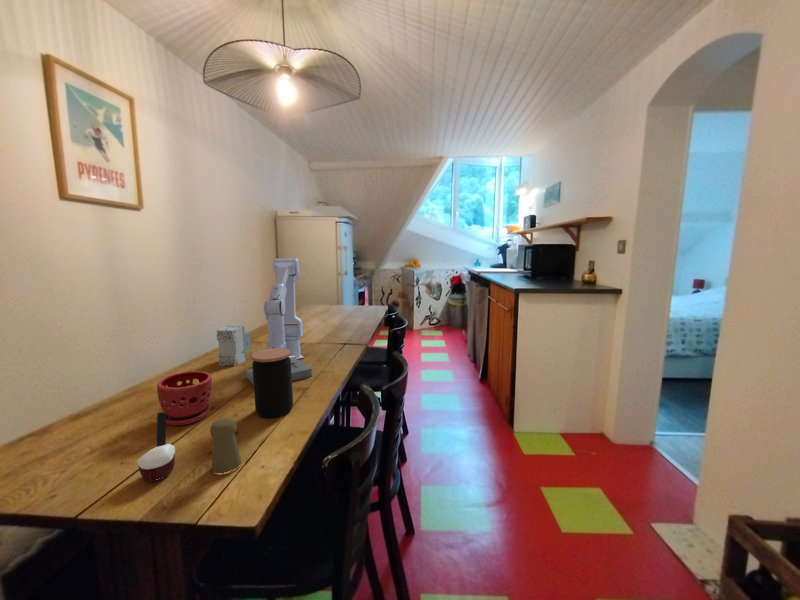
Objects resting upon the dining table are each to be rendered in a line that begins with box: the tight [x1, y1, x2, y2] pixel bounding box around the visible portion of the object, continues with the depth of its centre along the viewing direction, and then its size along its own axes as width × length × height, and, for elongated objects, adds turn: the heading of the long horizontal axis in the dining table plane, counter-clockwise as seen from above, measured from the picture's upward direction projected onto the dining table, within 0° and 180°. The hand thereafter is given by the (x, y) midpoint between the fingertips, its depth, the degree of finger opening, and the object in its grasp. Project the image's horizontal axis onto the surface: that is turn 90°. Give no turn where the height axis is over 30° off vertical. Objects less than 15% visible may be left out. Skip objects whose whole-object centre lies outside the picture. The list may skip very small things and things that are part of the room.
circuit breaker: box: [215, 325, 252, 366], centre depth 146 cm, size 8×14×15 cm, turn 174°
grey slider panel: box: [245, 359, 313, 387], centre depth 127 cm, size 14×20×3 cm
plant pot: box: [156, 370, 213, 426], centre depth 96 cm, size 13×13×12 cm
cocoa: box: [137, 411, 176, 483], centre depth 72 cm, size 10×6×12 cm, turn 174°
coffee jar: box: [251, 347, 294, 419], centre depth 100 cm, size 11×11×18 cm
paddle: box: [289, 356, 296, 363], centre depth 133 cm, size 2×3×2 cm, turn 128°
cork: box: [209, 417, 242, 473], centre depth 75 cm, size 6×6×11 cm
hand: (278, 366), depth 127 cm, fingers closed
